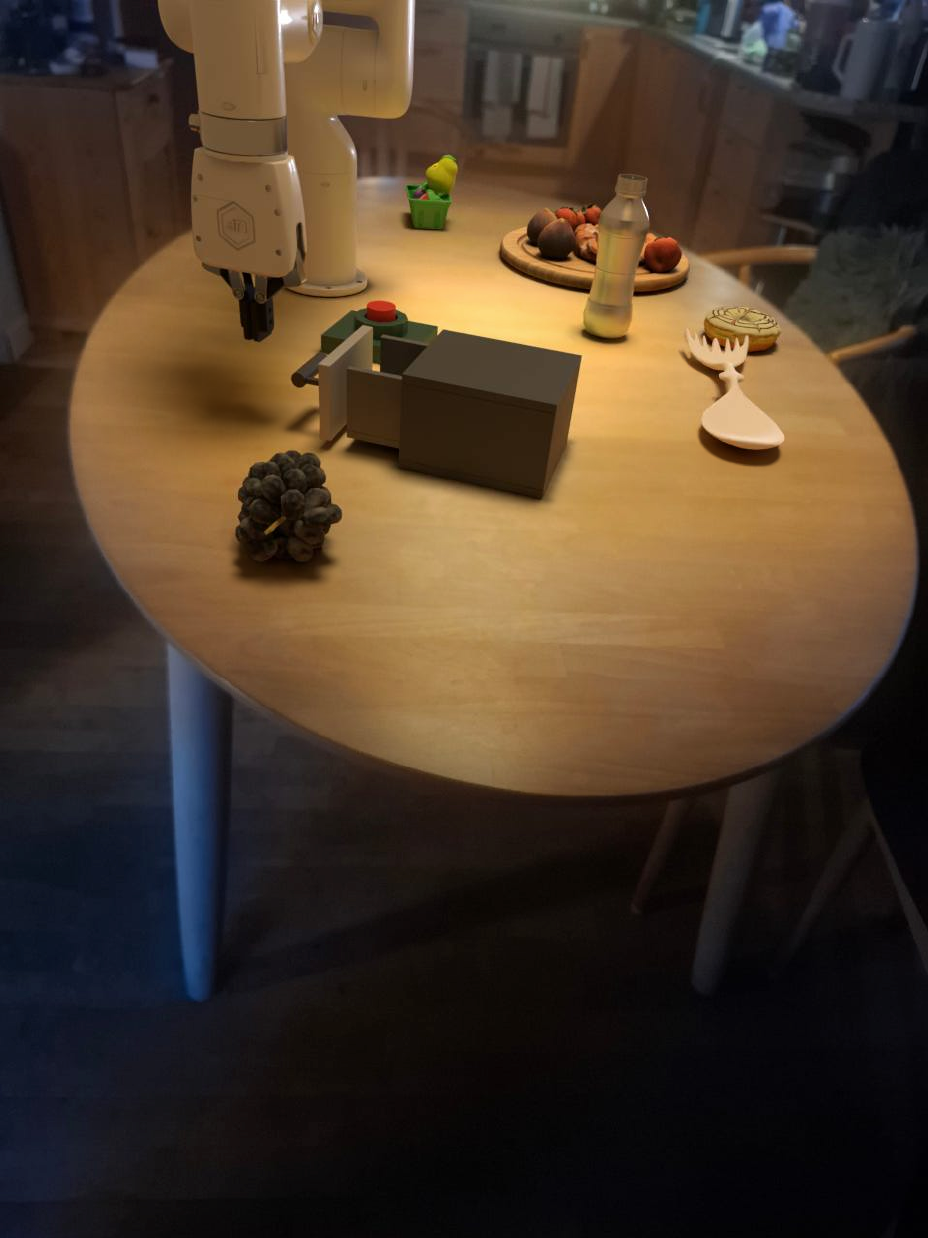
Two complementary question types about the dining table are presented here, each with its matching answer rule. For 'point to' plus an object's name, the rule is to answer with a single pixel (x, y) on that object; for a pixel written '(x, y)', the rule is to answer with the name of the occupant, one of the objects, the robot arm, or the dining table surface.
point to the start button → (381, 311)
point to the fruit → (285, 507)
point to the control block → (376, 331)
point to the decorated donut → (742, 327)
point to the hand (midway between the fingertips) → (258, 336)
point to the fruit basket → (433, 195)
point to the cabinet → (487, 411)
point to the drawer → (361, 386)
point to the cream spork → (733, 400)
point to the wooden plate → (585, 251)
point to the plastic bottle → (617, 259)
